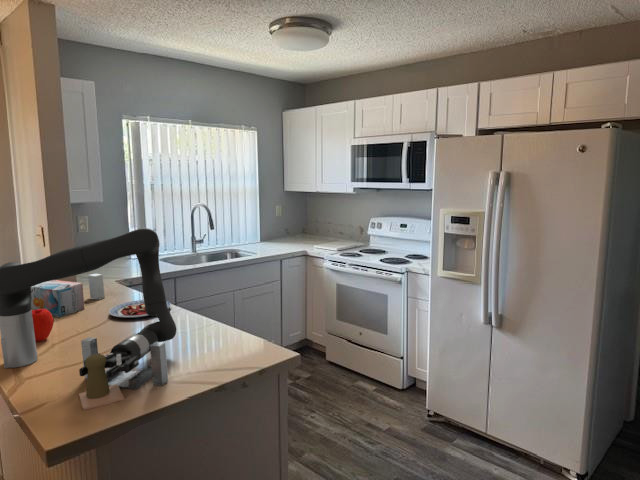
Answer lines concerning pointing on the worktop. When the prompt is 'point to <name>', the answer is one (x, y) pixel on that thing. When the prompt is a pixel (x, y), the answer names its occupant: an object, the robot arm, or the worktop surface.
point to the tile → (109, 398)
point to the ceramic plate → (131, 309)
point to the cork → (96, 377)
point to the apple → (42, 323)
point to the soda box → (58, 297)
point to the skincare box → (96, 286)
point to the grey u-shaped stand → (134, 377)
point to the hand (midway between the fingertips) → (94, 374)
